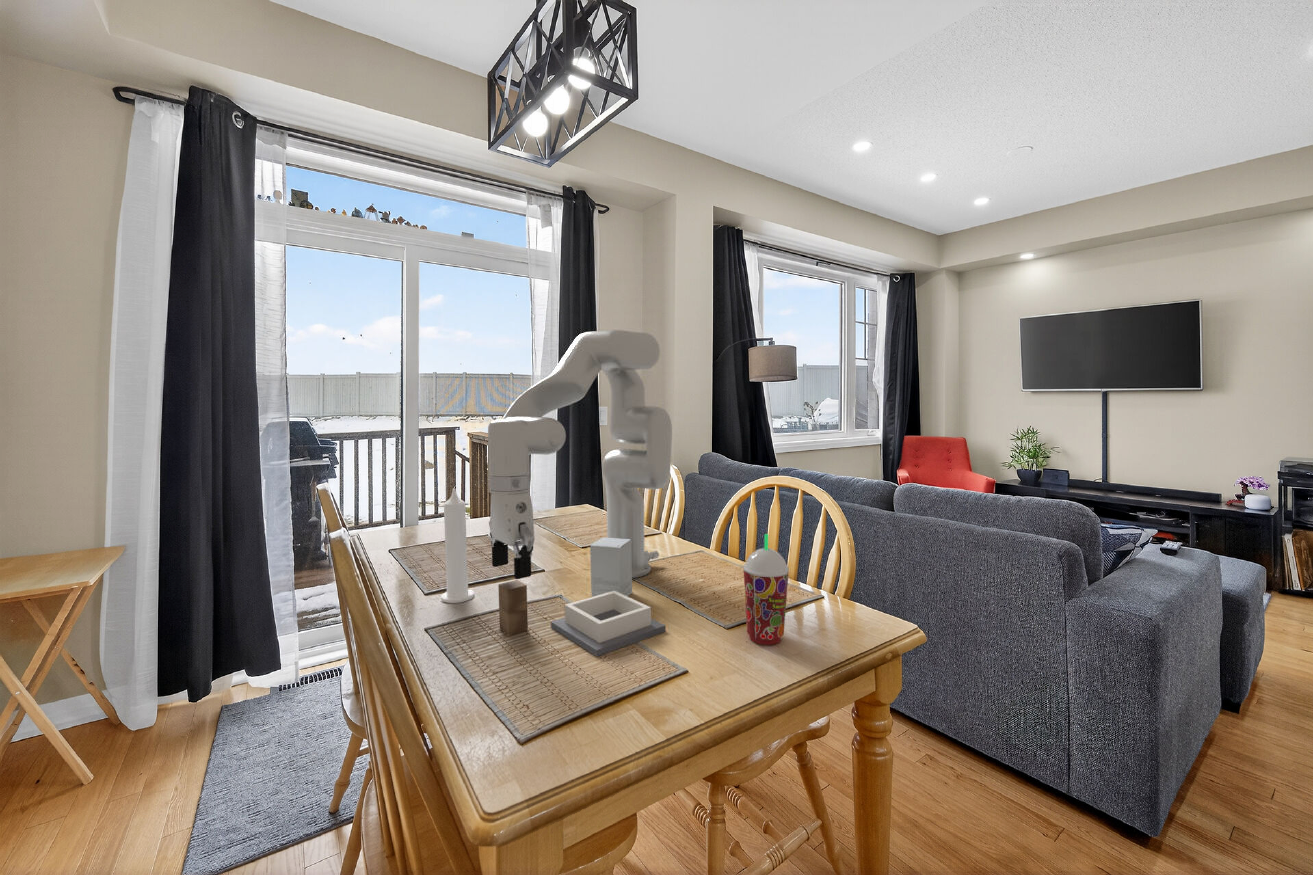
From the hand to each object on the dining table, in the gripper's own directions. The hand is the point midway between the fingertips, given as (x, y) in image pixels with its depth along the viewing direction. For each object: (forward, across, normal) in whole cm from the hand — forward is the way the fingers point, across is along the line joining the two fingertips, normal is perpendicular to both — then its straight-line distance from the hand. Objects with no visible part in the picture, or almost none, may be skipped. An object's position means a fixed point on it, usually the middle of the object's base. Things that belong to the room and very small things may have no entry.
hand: (511, 571), depth 109 cm
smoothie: (+12, -34, -34) cm, 50 cm away
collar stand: (+12, -12, -14) cm, 22 cm away
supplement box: (+12, +2, -25) cm, 28 cm away
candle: (+12, +24, +2) cm, 27 cm away
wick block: (+12, 0, 0) cm, 12 cm away
